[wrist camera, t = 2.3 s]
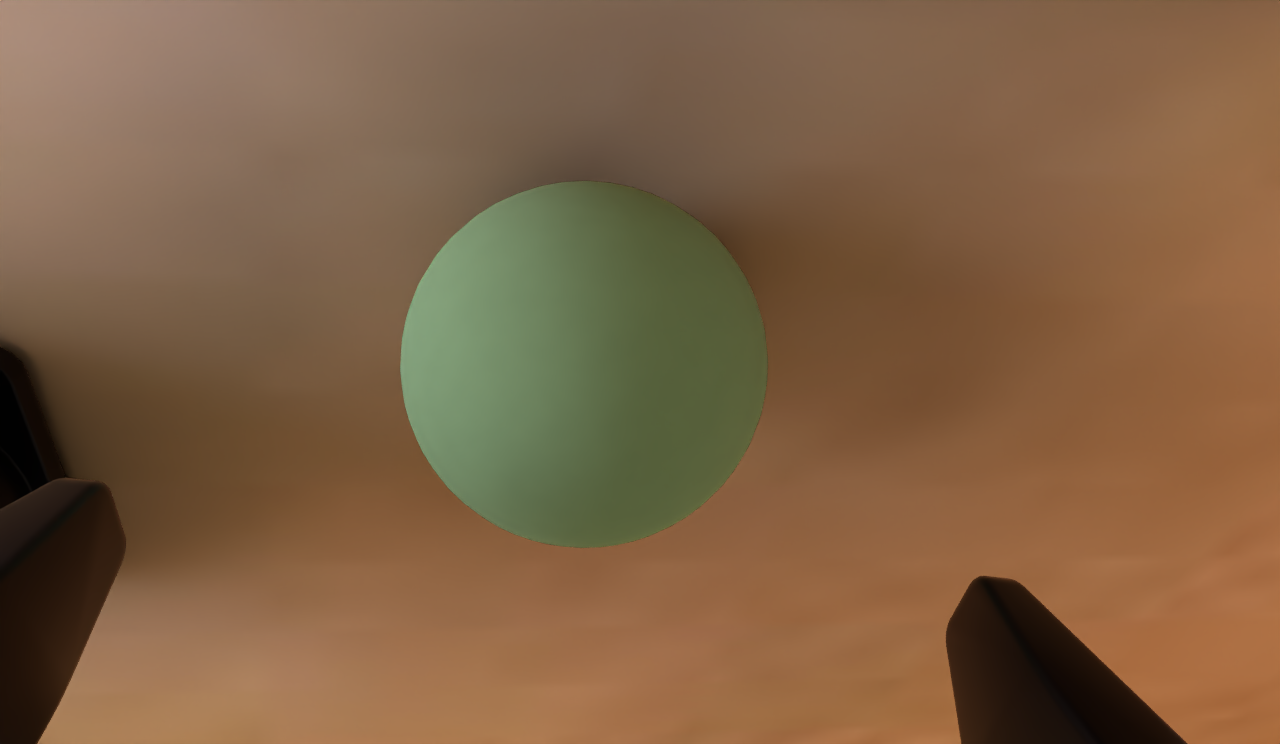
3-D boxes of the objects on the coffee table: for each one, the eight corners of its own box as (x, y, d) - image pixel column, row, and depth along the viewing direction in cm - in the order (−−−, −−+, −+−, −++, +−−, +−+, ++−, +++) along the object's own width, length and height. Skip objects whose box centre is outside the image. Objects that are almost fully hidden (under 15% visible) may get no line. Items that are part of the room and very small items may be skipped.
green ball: (716, 413, 15) (739, 644, 11) (443, 380, 15) (362, 607, 11) (782, 153, 12) (847, 336, 8) (444, 104, 12) (334, 270, 8)
